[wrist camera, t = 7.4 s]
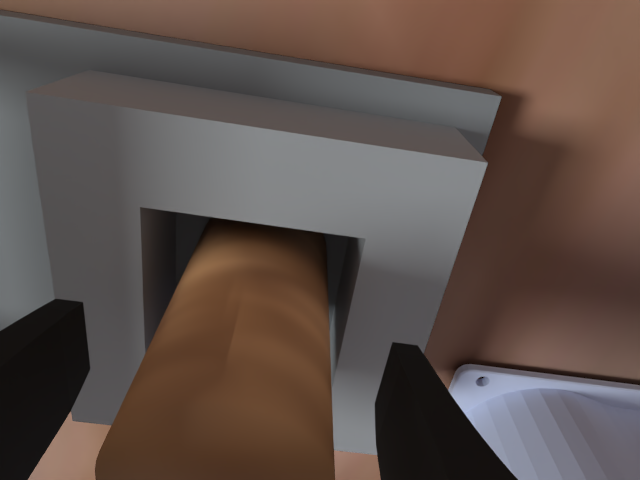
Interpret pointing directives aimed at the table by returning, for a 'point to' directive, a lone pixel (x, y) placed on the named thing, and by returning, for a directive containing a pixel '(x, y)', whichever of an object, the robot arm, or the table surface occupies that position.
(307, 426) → the peg
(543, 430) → the robot arm
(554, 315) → the table surface
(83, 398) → the socket stand
